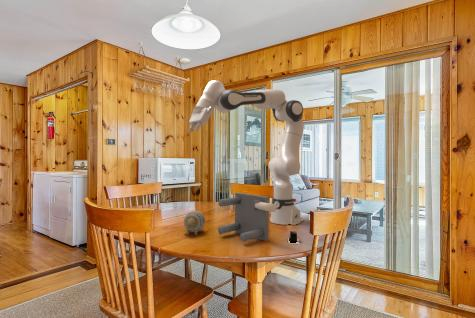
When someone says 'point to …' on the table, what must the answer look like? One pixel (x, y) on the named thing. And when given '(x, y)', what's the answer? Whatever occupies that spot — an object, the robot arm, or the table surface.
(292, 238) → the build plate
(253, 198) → the stool
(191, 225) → the toy sheep
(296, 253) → the table surface
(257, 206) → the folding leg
